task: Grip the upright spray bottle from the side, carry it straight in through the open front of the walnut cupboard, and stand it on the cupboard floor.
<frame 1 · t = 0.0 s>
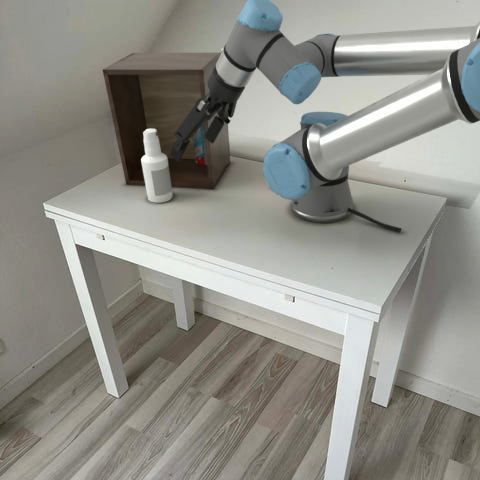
hand: (192, 148, 118), 15 cm above the table, tool tilted 35°, fingers open, 13 cm apart
hard drive: (295, 182, 137), on the table
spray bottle: (160, 198, 133), on the table
beverage cup: (186, 153, 159), on the table
cupboard: (179, 174, 145), on the table
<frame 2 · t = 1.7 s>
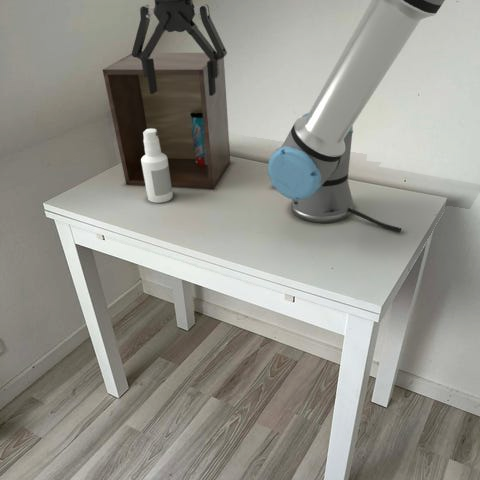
hand: (182, 93, 108), 29 cm above the table, tool pointing down, fingers open, 13 cm apart
nothing on the table moved.
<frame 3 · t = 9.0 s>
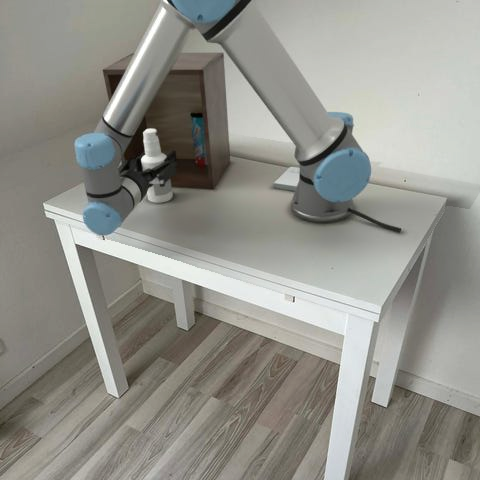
hand: (161, 154, 131), 10 cm above the table, tool horizontal, fingers closed on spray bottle, 7 cm apart
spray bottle: (160, 198, 133), on the table, touching gripper
everything else where it was.
when the fingers open (11 cm above the table, at t = 15.5 s): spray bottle stays where it is, resting on cupboard.
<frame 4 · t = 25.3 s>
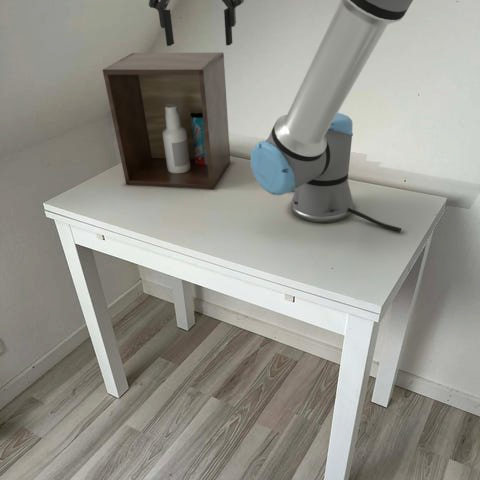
hand: (199, 44, 108), 37 cm above the table, tool pointing down, fingers open, 13 cm apart
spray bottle: (179, 169, 145), point 1 cm above the table, touching cupboard
everything else where it was.
at the end: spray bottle inside the target area on the cupboard (0.9 cm from its centre), point 1.0 cm above the cupboard's base; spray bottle tilted 0°; the gripper is holding nothing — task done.
